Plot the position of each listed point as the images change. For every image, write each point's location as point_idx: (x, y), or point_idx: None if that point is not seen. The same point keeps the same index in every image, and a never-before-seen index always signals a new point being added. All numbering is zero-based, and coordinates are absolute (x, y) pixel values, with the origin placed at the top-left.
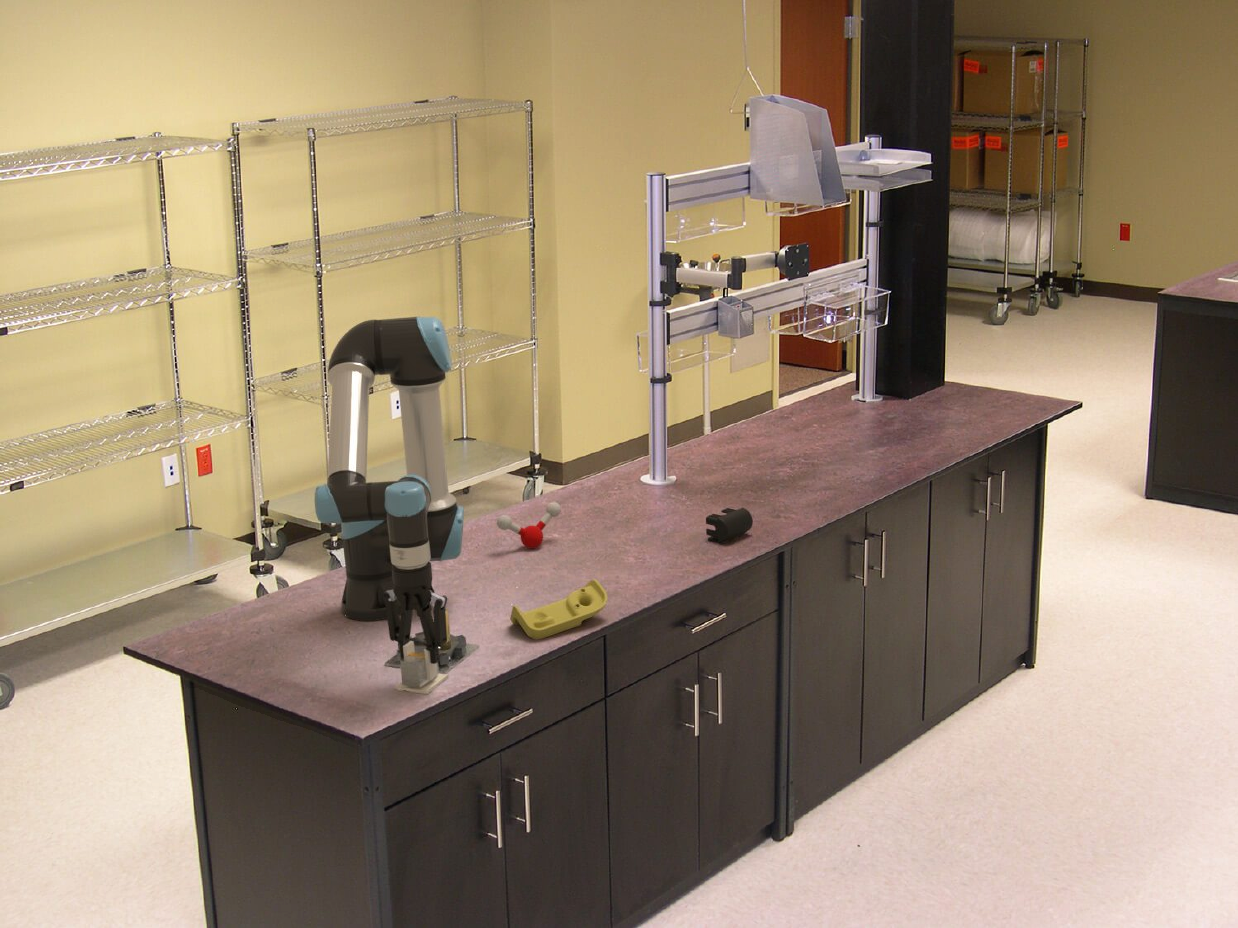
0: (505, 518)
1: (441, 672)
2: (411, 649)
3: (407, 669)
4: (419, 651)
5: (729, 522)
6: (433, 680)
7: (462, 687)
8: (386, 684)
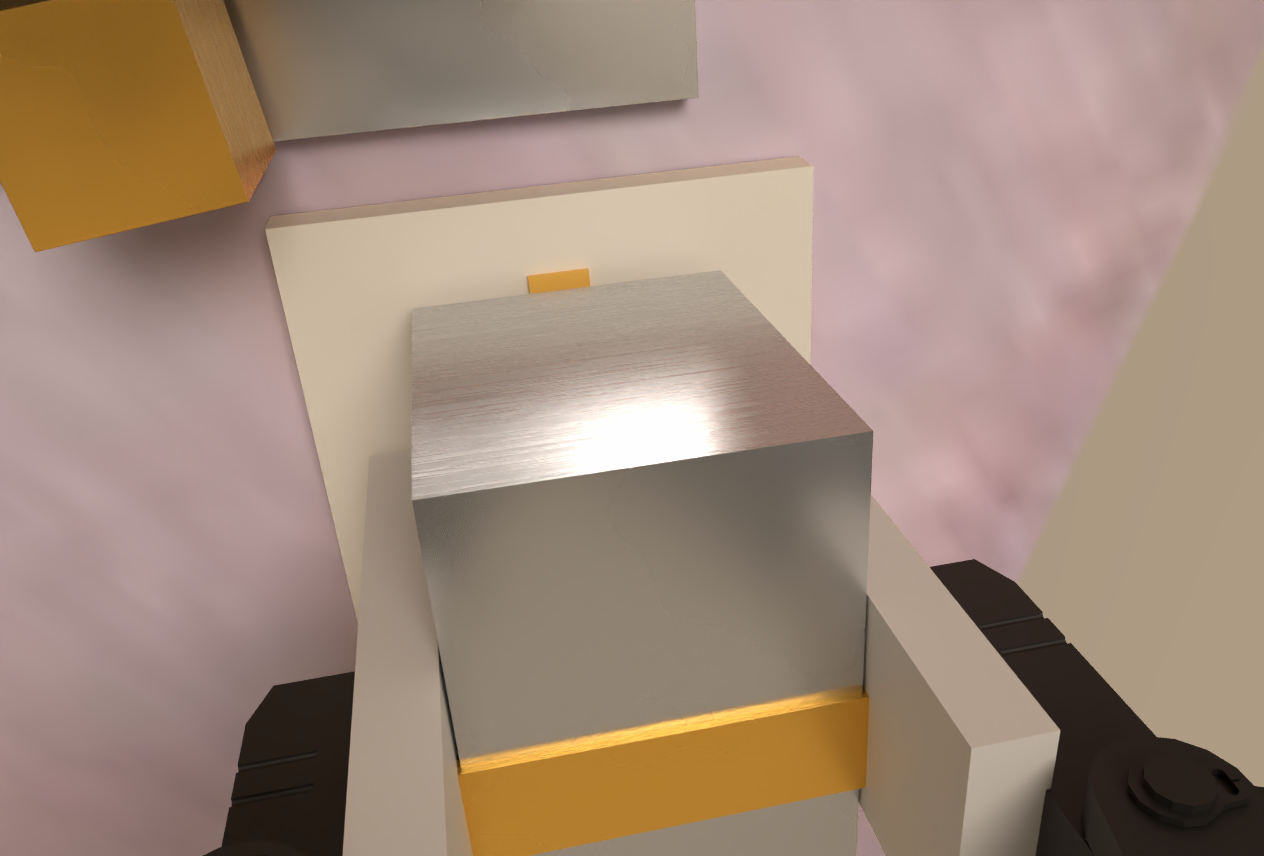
0: None
1: (643, 101)
2: (460, 817)
3: None
4: (558, 646)
5: None
6: None
7: (1095, 320)
8: (158, 666)
